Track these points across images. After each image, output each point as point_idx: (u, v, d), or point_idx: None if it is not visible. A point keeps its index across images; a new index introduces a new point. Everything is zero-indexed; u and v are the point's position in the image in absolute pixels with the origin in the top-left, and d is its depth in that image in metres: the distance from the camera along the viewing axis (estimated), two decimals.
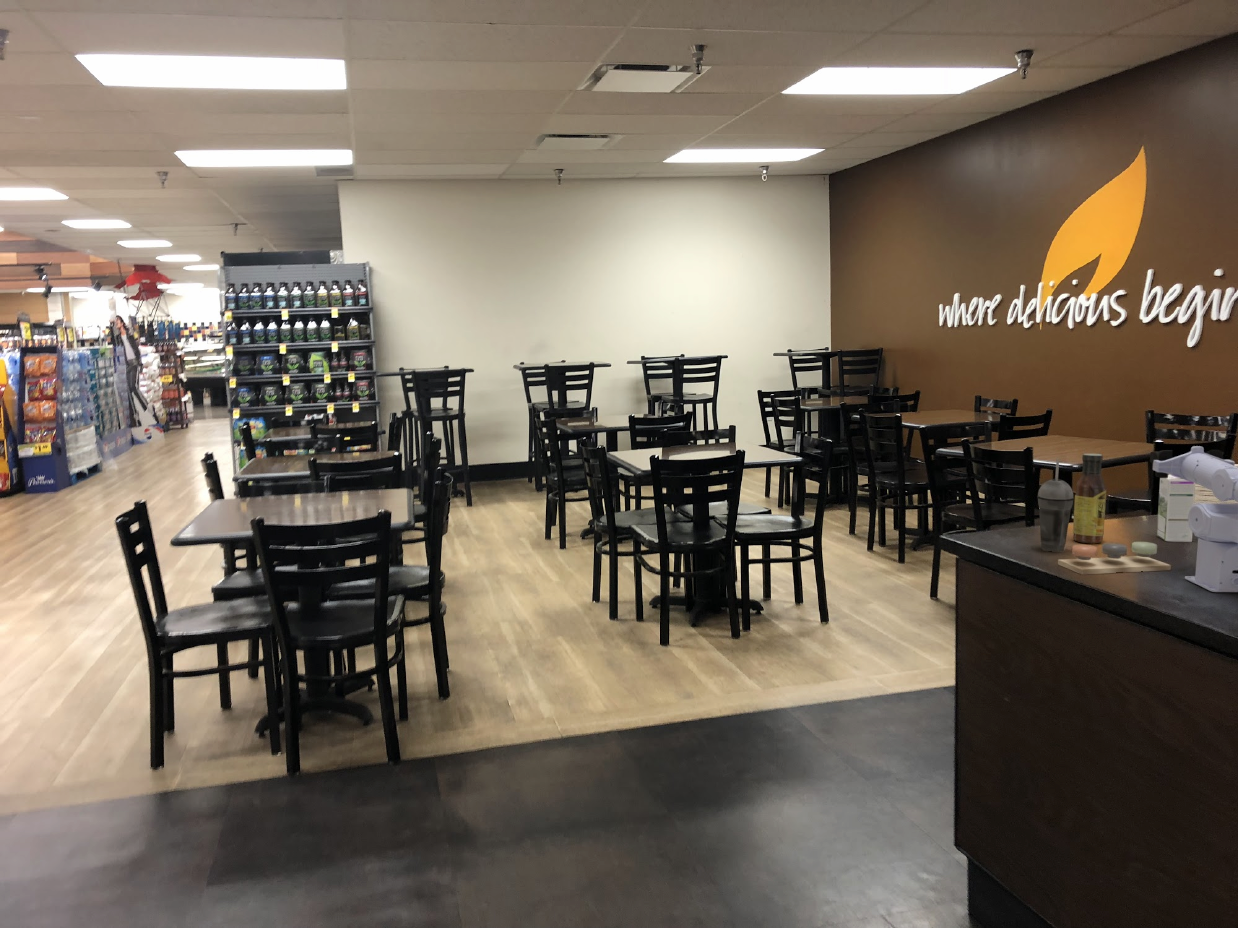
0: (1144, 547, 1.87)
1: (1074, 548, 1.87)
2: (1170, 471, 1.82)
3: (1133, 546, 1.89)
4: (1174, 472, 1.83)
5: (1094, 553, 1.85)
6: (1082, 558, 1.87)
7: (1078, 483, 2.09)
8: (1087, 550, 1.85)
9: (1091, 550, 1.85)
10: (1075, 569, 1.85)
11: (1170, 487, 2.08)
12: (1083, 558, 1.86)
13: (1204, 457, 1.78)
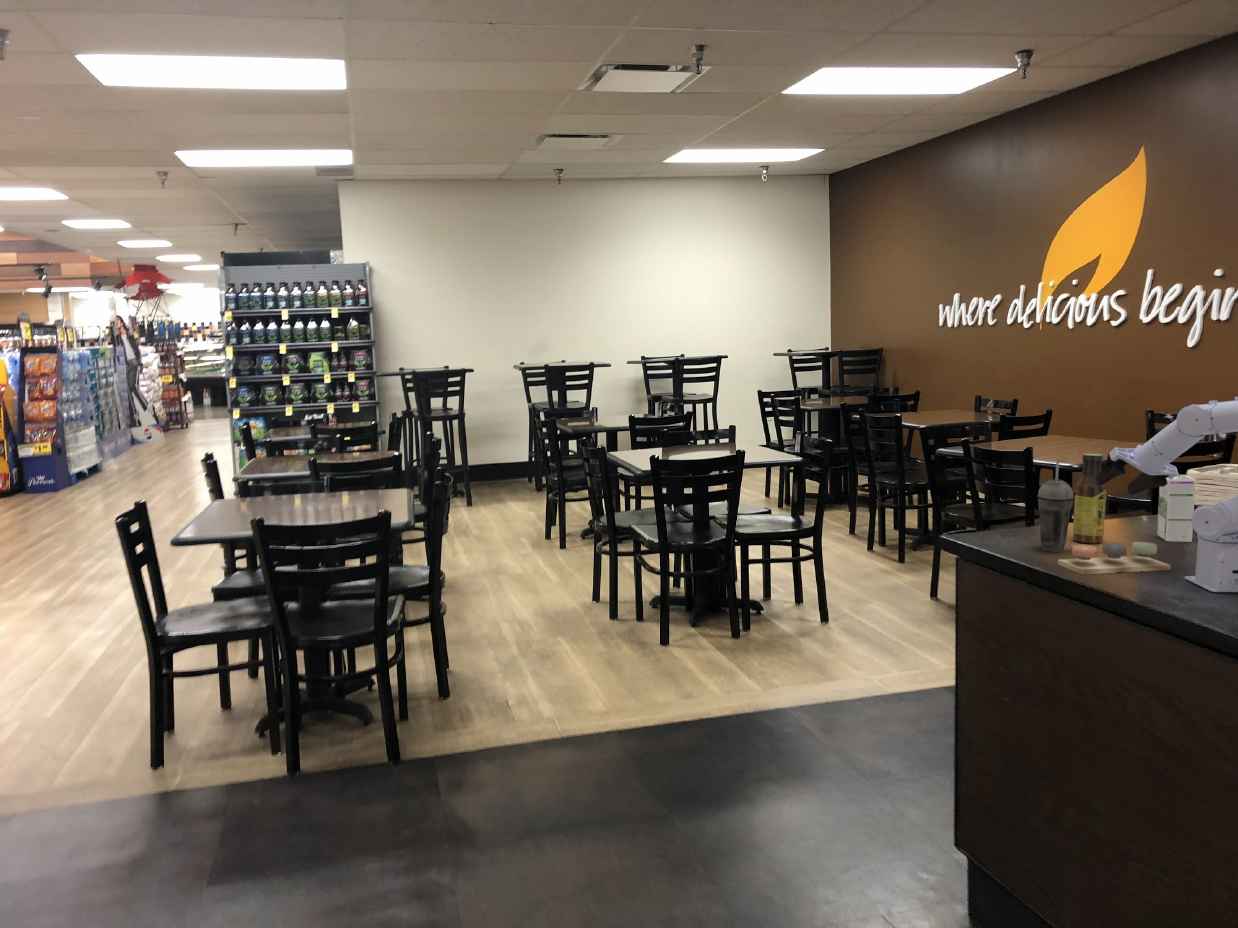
0: (1144, 547, 1.87)
1: (1074, 548, 1.87)
2: (1128, 458, 1.84)
3: (1133, 546, 1.89)
4: None
5: (1094, 553, 1.85)
6: (1082, 558, 1.87)
7: (1078, 483, 2.09)
8: (1087, 550, 1.85)
9: (1091, 550, 1.85)
10: (1075, 569, 1.85)
11: (1170, 487, 2.08)
12: (1083, 558, 1.86)
13: None
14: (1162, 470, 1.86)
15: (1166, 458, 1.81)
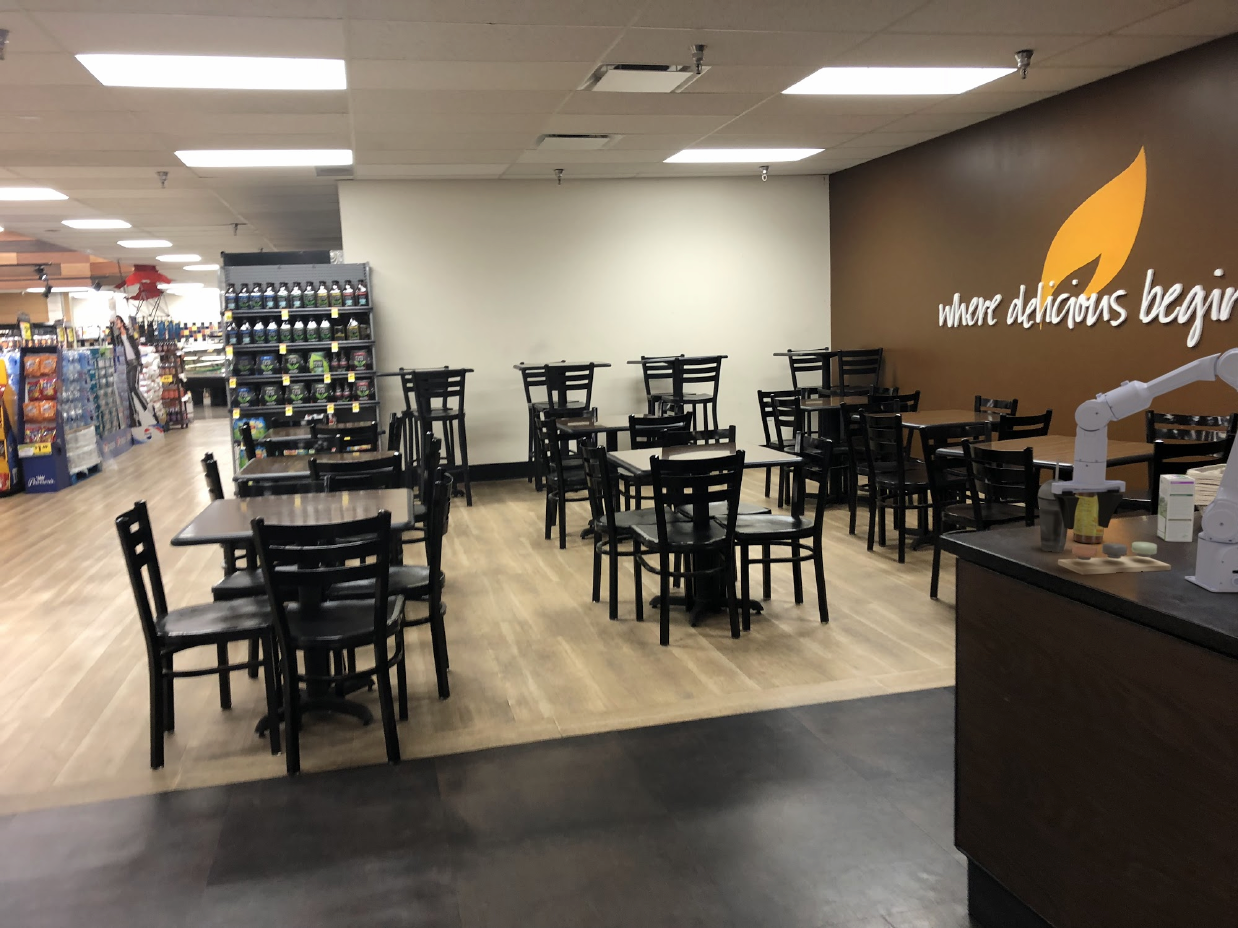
0: (1144, 547, 1.87)
1: (1074, 548, 1.87)
2: None
3: (1133, 546, 1.89)
4: None
5: (1094, 553, 1.85)
6: (1082, 558, 1.87)
7: None
8: (1087, 550, 1.85)
9: (1091, 550, 1.85)
10: (1075, 569, 1.85)
11: (1170, 487, 2.08)
12: (1083, 558, 1.86)
13: None
14: None
15: (1097, 462, 1.82)
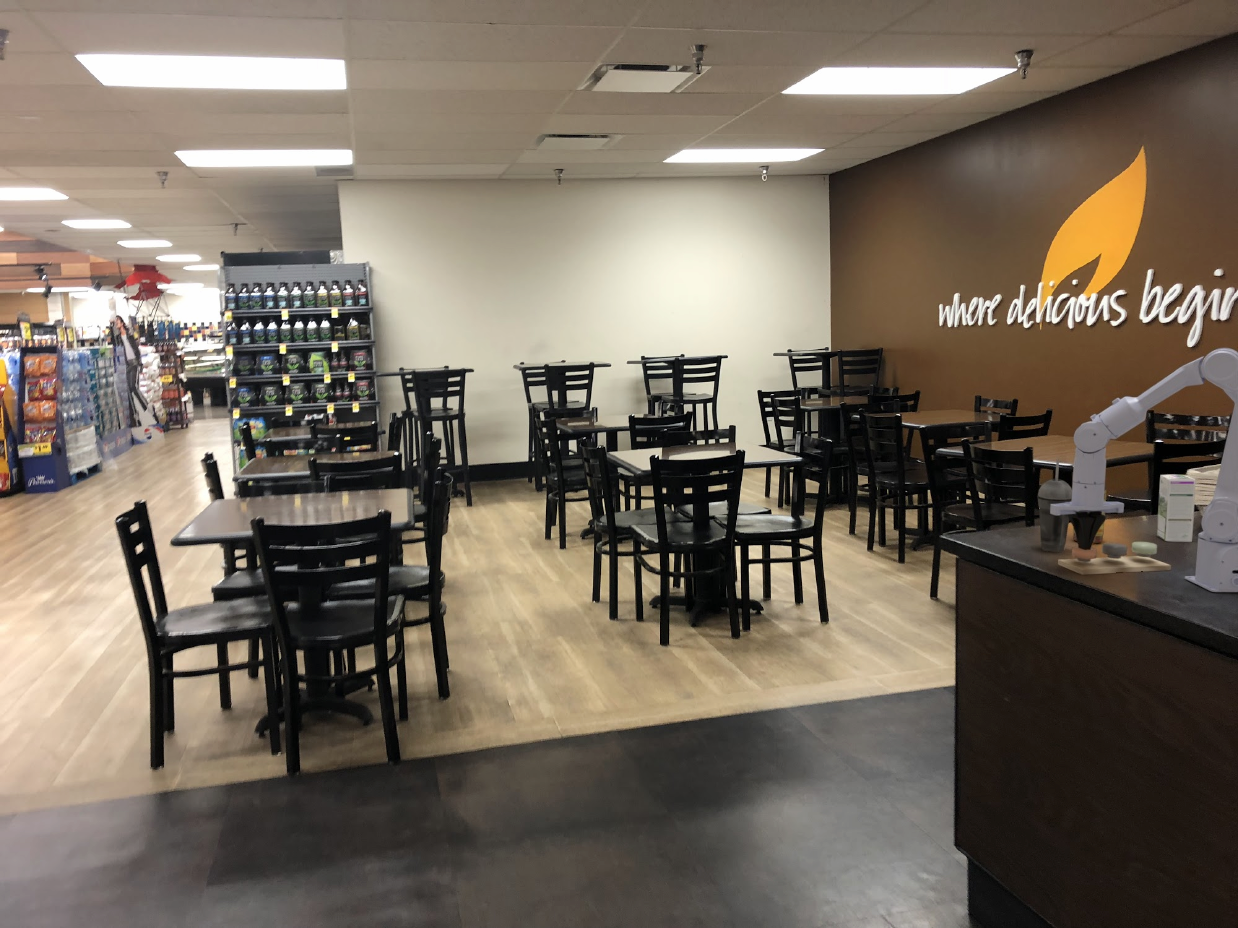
0: (1144, 547, 1.87)
1: (1074, 550, 1.87)
2: (1068, 506, 1.84)
3: (1133, 546, 1.89)
4: None
5: (1094, 555, 1.85)
6: (1082, 560, 1.87)
7: None
8: (1087, 552, 1.85)
9: (1091, 552, 1.85)
10: (1075, 569, 1.85)
11: (1170, 487, 2.08)
12: (1083, 560, 1.86)
13: None
14: None
15: (1095, 484, 1.82)
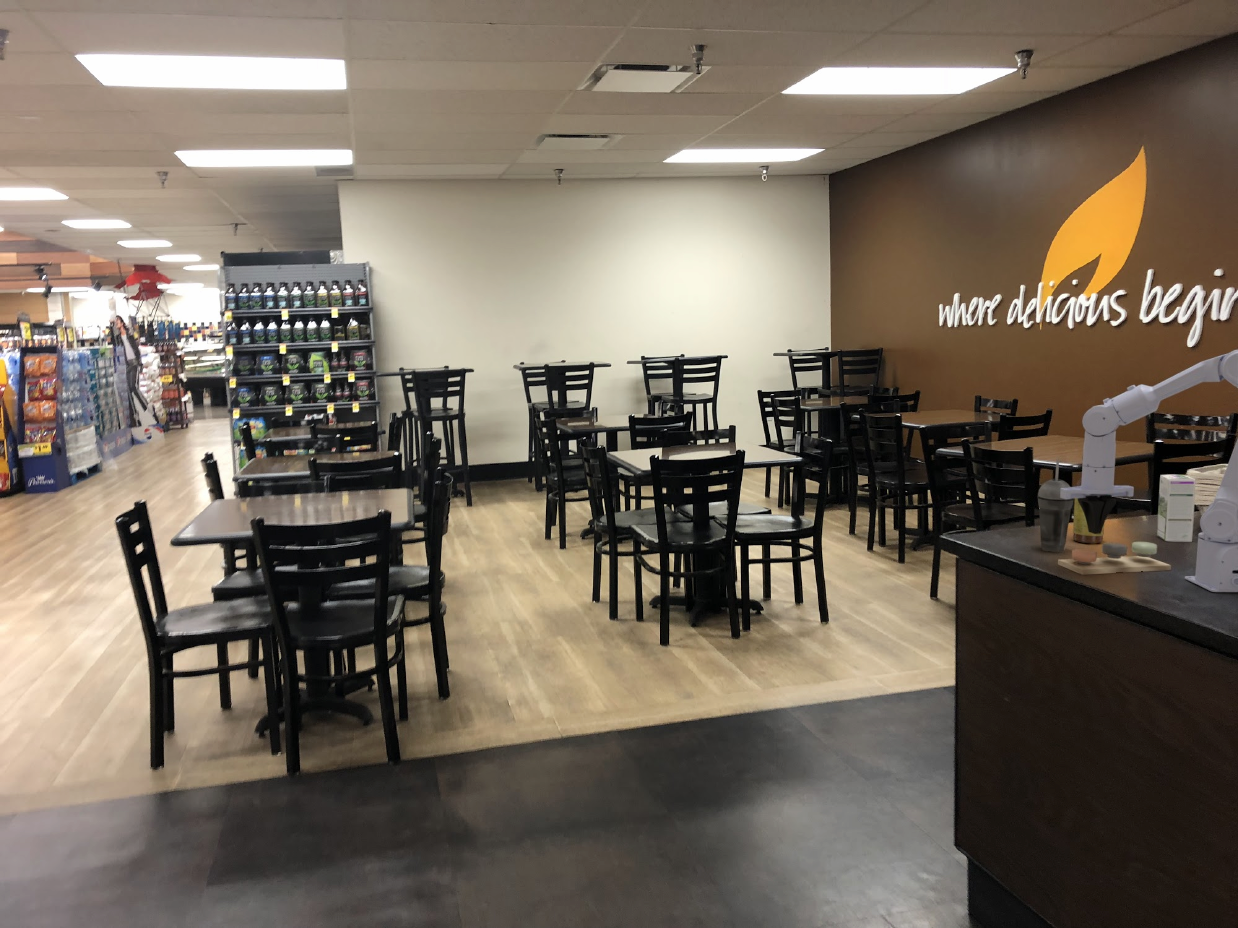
0: (1144, 547, 1.87)
1: (1074, 553, 1.87)
2: (1078, 489, 1.84)
3: (1133, 546, 1.89)
4: None
5: (1094, 558, 1.85)
6: (1082, 563, 1.87)
7: (1078, 483, 2.09)
8: (1087, 555, 1.85)
9: (1091, 555, 1.85)
10: (1075, 569, 1.85)
11: (1170, 487, 2.08)
12: (1083, 563, 1.87)
13: None
14: None
15: (1105, 468, 1.82)
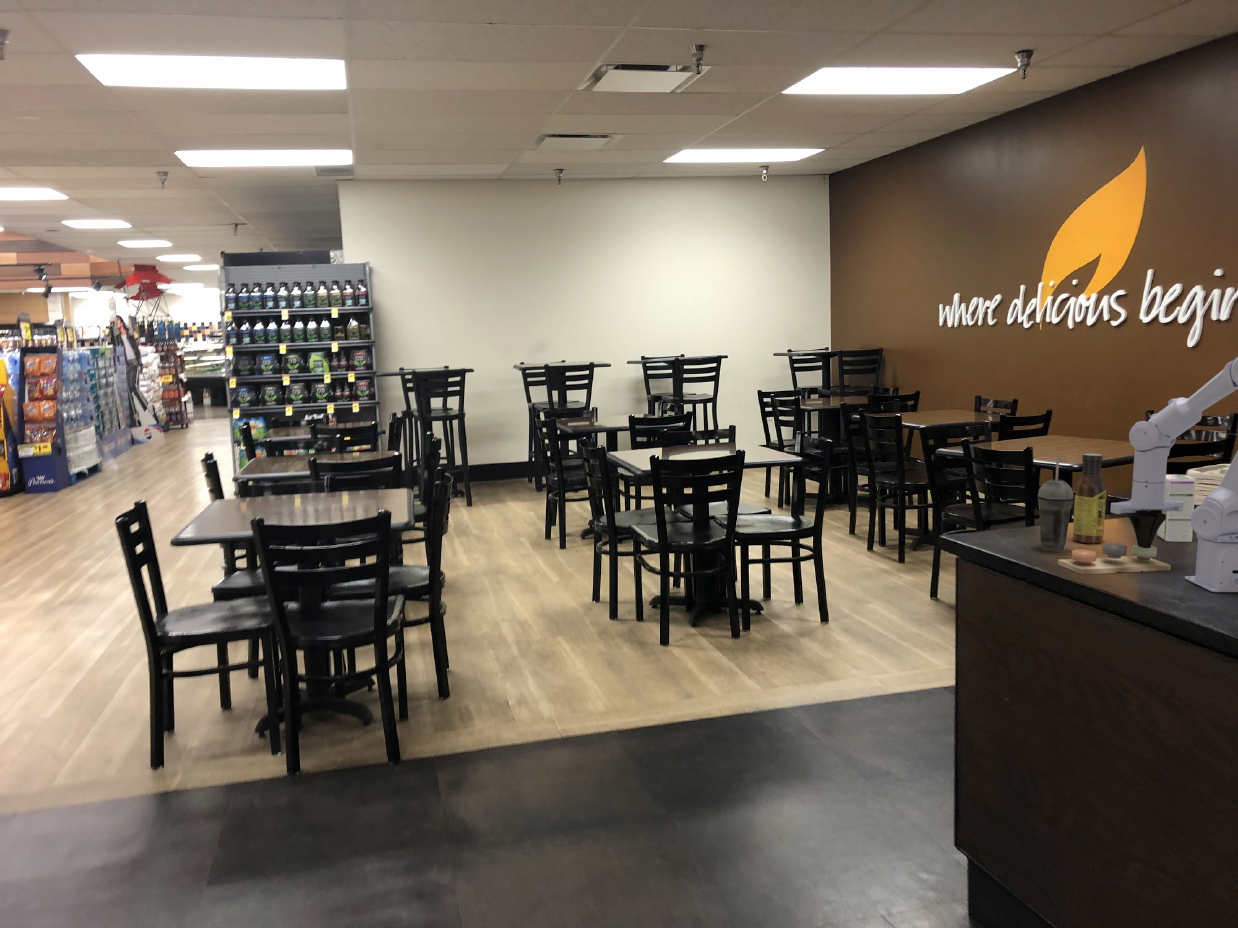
0: (1144, 550, 1.87)
1: (1074, 553, 1.87)
2: (1128, 504, 1.86)
3: (1133, 549, 1.89)
4: None
5: (1094, 558, 1.85)
6: (1082, 563, 1.87)
7: (1078, 483, 2.09)
8: (1087, 555, 1.85)
9: (1091, 555, 1.85)
10: (1075, 569, 1.85)
11: (1170, 487, 2.08)
12: (1083, 563, 1.87)
13: None
14: None
15: (1157, 483, 1.84)
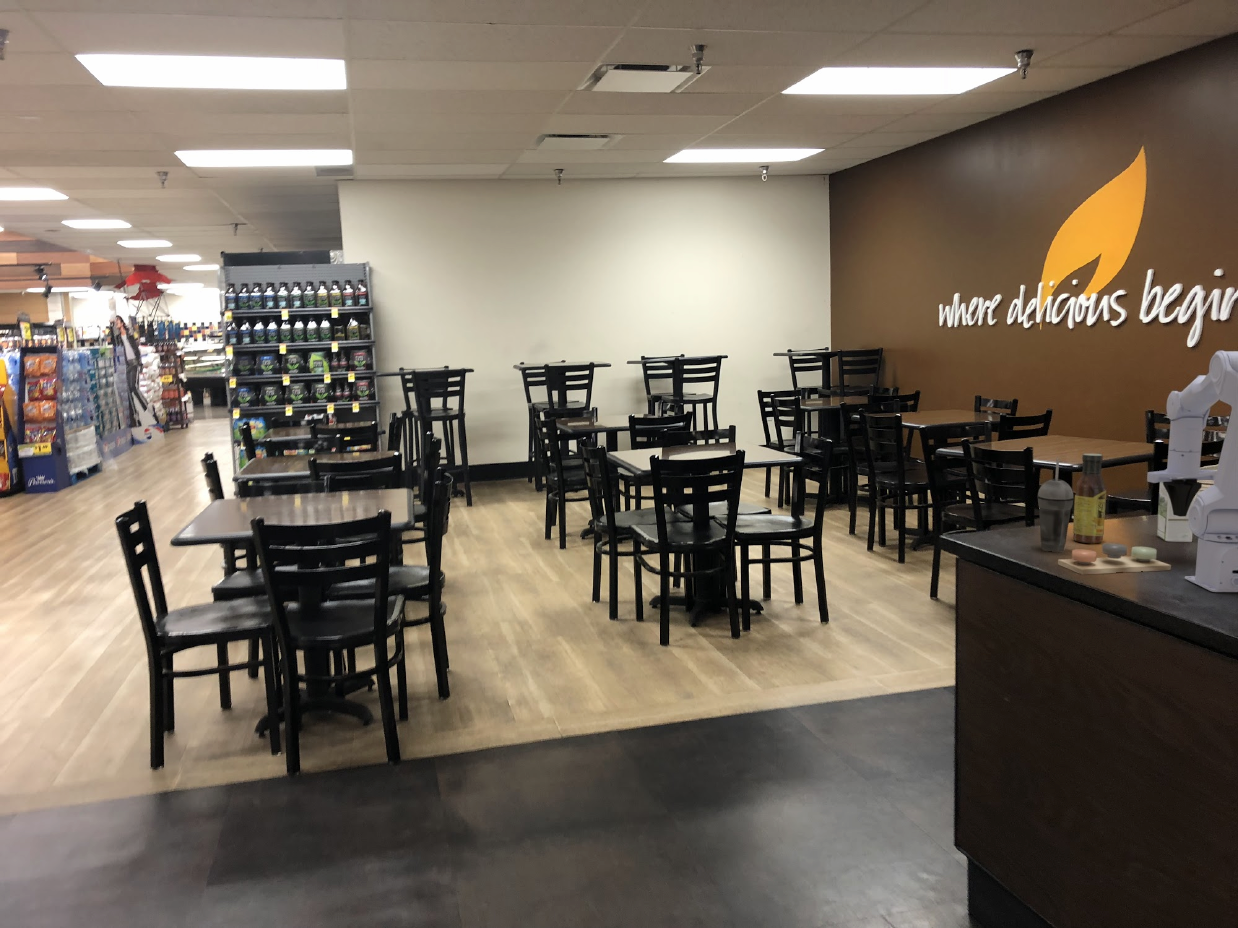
0: (1144, 552, 1.87)
1: (1074, 553, 1.87)
2: None
3: (1133, 551, 1.89)
4: None
5: (1094, 558, 1.85)
6: (1082, 563, 1.87)
7: (1078, 483, 2.09)
8: (1087, 555, 1.85)
9: (1091, 555, 1.85)
10: (1075, 569, 1.85)
11: None
12: (1083, 563, 1.87)
13: None
14: None
15: (1193, 452, 1.88)
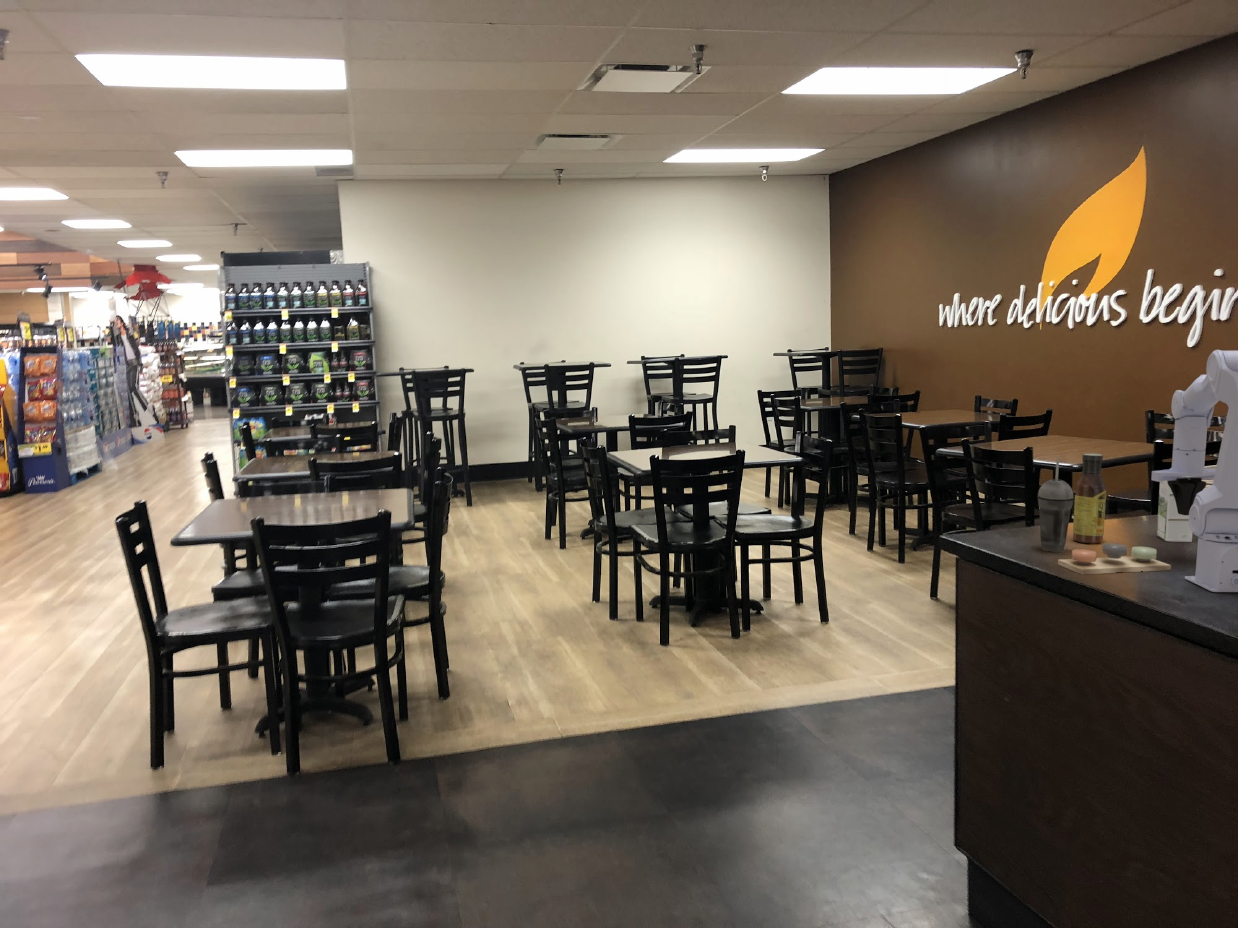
0: (1144, 552, 1.87)
1: (1074, 553, 1.87)
2: None
3: (1133, 551, 1.89)
4: None
5: (1094, 558, 1.85)
6: (1082, 563, 1.87)
7: (1078, 483, 2.09)
8: (1087, 555, 1.85)
9: (1091, 555, 1.85)
10: (1075, 569, 1.85)
11: None
12: (1083, 563, 1.87)
13: None
14: None
15: (1197, 451, 1.89)
